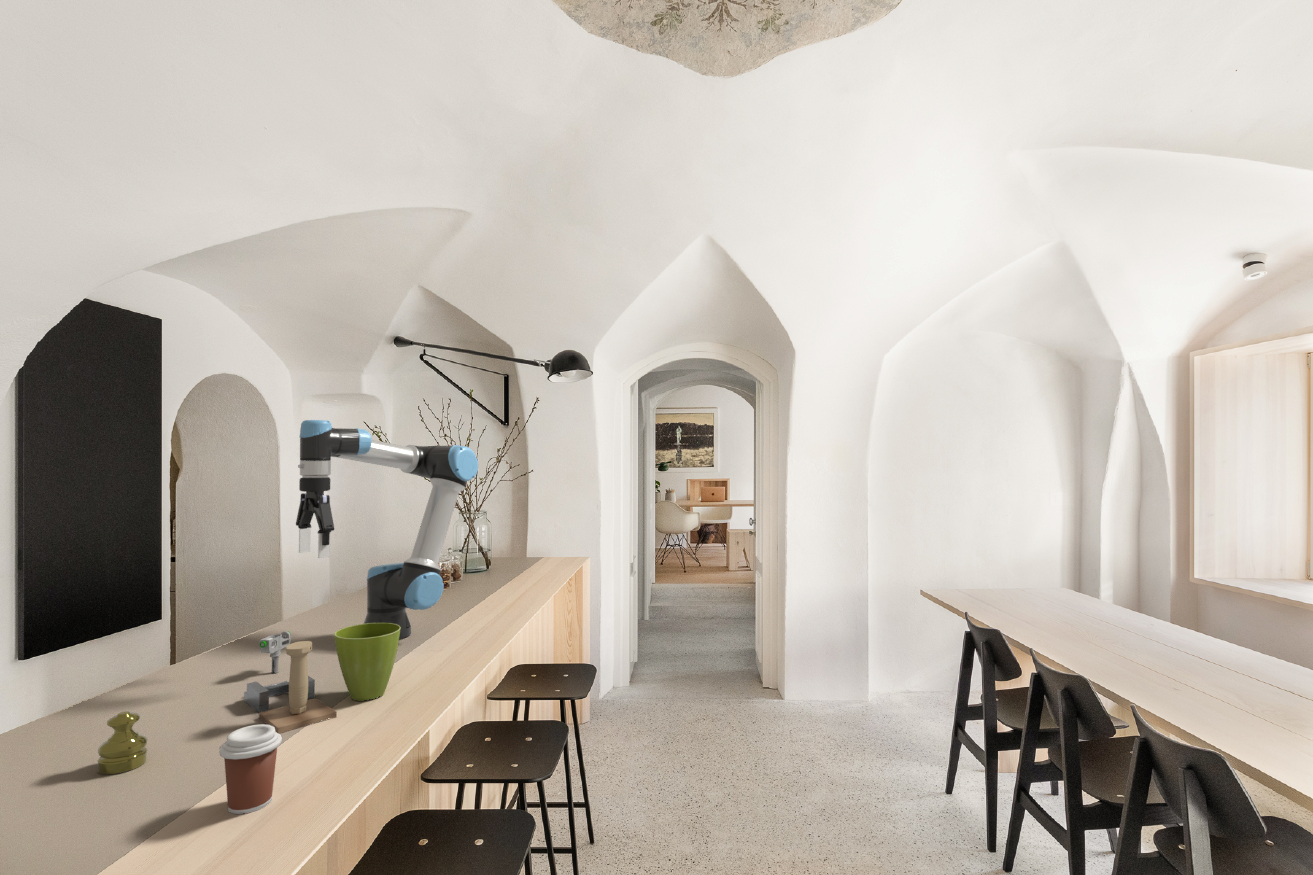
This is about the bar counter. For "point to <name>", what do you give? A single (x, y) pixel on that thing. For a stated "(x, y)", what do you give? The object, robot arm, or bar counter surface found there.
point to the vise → (270, 693)
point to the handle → (298, 675)
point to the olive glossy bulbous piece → (122, 746)
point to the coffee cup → (250, 767)
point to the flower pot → (367, 657)
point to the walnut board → (297, 716)
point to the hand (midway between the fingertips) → (314, 554)
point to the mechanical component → (275, 647)
